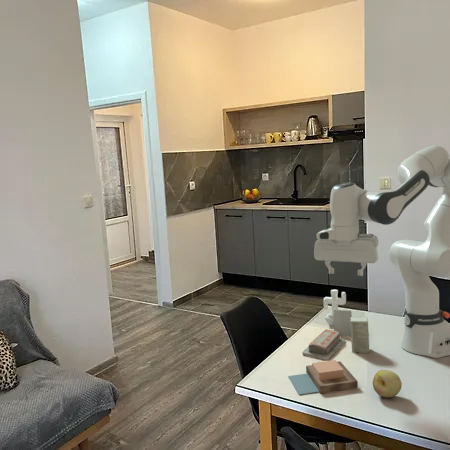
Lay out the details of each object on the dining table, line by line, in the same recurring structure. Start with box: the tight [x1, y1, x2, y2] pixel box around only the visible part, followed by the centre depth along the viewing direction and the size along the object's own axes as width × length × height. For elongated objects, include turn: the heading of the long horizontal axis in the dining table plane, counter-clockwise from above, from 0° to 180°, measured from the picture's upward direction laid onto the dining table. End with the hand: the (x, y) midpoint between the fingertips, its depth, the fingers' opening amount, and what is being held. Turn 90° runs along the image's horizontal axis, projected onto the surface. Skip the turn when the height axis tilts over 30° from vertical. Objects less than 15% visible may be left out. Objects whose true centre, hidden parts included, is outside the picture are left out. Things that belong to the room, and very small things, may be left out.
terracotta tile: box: [311, 359, 344, 380], centre depth 146 cm, size 8×7×2 cm
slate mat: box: [288, 373, 320, 396], centre depth 145 cm, size 8×12×1 cm, turn 8°
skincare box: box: [350, 316, 370, 354], centre depth 165 cm, size 6×4×12 cm
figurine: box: [323, 289, 347, 327], centre depth 192 cm, size 7×9×15 cm
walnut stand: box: [305, 360, 359, 395], centre depth 146 cm, size 12×14×2 cm
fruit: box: [372, 369, 403, 398], centre depth 134 cm, size 8×8×8 cm
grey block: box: [333, 309, 353, 337], centre depth 181 cm, size 4×7×10 cm, turn 71°
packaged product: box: [302, 329, 346, 361], centre depth 170 cm, size 18×5×10 cm
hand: (345, 274), depth 149 cm, fingers open, 8 cm apart
